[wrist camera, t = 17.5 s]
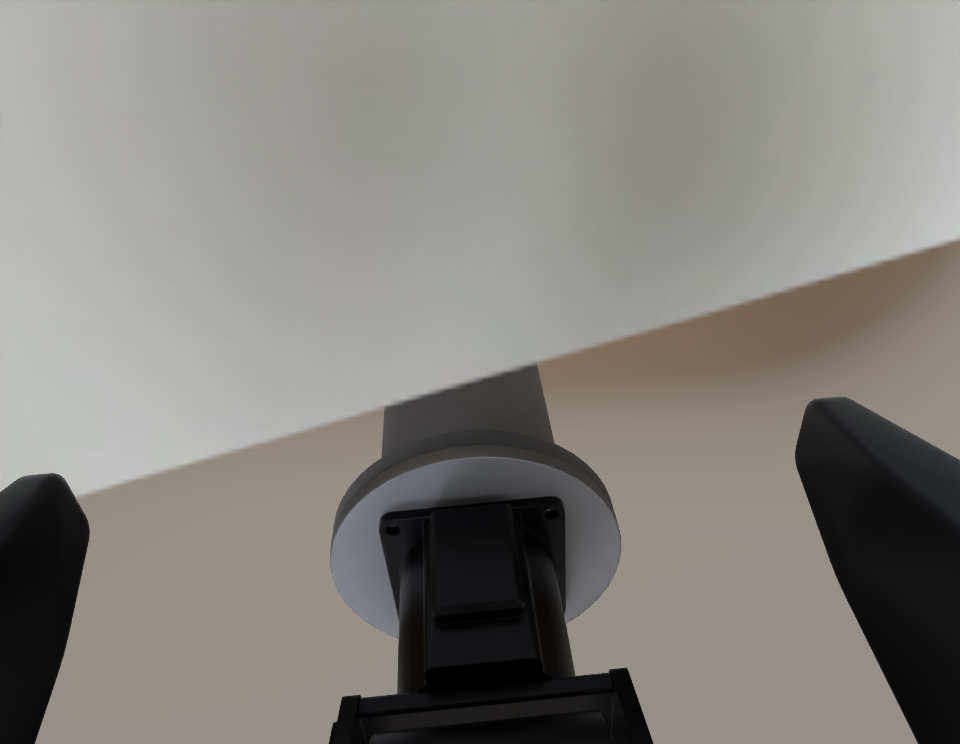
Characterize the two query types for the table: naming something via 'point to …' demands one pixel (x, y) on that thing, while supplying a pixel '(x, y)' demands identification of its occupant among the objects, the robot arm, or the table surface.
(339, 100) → the table surface
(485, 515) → the robot arm
